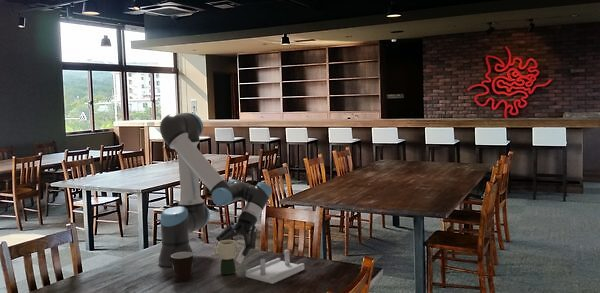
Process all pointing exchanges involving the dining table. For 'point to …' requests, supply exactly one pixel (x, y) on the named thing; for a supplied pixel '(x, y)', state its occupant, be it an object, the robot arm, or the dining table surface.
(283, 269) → the tray
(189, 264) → the coffee mug
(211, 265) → the dining table surface
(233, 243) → the character mug
